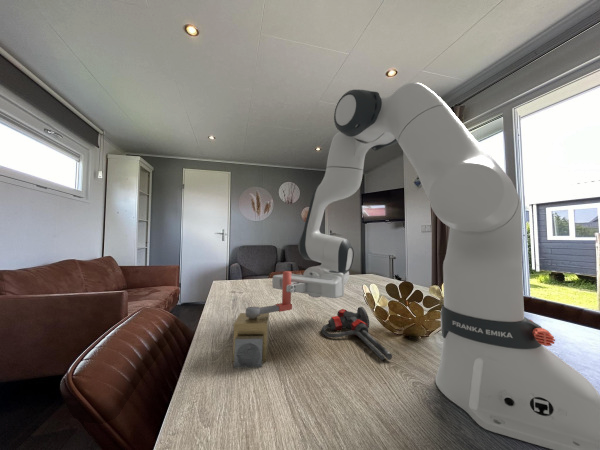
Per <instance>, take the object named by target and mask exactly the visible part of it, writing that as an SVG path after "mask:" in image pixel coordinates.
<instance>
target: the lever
mask: <svg viewBox="0 0 600 450" xmlns="http://www.w3.org/2000/svg"><path fill="white" fill-rule="evenodd" d="M282 274H283V287H282V291H281V293H282V294H281V295H282V296H281V297H282V298H281V302H280V303H276V304H274V305H268V306H262V307H261V306H260V307H259V306H249V307H247V308H245V313H246V317H249V318H255V317H259V316H260V314H265V313H269V314H270V313H275V312H279V313H281V312H285V311H291V310H293V304H292V293H288V292H287V291H286V287H287V285H290V284H291V274H292V271H289V270H286V271H282Z"/></svg>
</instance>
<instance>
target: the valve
mask: <svg viewBox="0 0 600 450" xmlns="http://www.w3.org/2000/svg"><path fill="white" fill-rule="evenodd" d="M356 311H357V312H353V311H349V310H347V309H344V308H342V309H339V310H338V311H337V313H336V315H335V316H331V318H329V319H328V323H327V324H325V325H323V326H322V328H321V333H322V335H324V336H326V337H328V338H334V339H335V338H342V337H347V336H350V335H354V336H356V337H358V338H359V339H360V340H361V341H362V342H363V343H365V344H366V346H367V347H369V349H371V351H372V352H373V353H374V354H375V355H376V356H377V357H378V358H379V359H380V360H381V361H383V360H385V358H386V359H387V360H389V361H390V360H392V358H393V354H392V353H390V351H388V350H387V349H386V348H385V347H384V346H383V345H382V344H381V343H379V341H377V339H376V338H374V337H373V336H372V335H371V334H370V333H369V328H370V318H369V315H368V313H367V311H366V309H365V308H364V307H363V306H360V307H358V308H357V310H356ZM344 328H346V329H349V328H351V330H347V331H342V330H343V329H344ZM326 329H329V330H331V331H335V332H337V330H339V331H342V332H337V333H331V332H327V331H326Z"/></svg>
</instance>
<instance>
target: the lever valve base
mask: <svg viewBox="0 0 600 450" xmlns="http://www.w3.org/2000/svg"><path fill="white" fill-rule="evenodd" d="M269 326H270V313H265V314H260V316H259V317H255V318H249V317H246V312H240V313H239V315H238V317H237V318H236V319H235V321H234V324H233V347H232V348H233V349H232V363H233V368H234V369H235V368H262V367H263V363H265V362H266V363H267V358H268V352H269V351H268V350H269V335H270V334H269V333H270V331H269V329H270V327H269Z"/></svg>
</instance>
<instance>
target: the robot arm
mask: <svg viewBox="0 0 600 450" xmlns="http://www.w3.org/2000/svg"><path fill="white" fill-rule="evenodd" d="M333 119H334V120H333V122H334V126H335V127H336V130H338V132H337V133H335V134H334V136H333V137H332V140H331V142H330V146H329V150H328V154H327V155H328V156H327V161H326V169H325V173H324V176H323V178H322V180H321V182H320V184H317V185H316V186H315V188H314V190H313V193H312V196H311V199H310V202H309V207H308V211H307V215H306V217H305V218H306V219H305V222H304V227H303V230H302V233H301V235H300V238H299V240H298V243H297V244H298V247H297V248H298V251H299V254H300V256H301V257H302V258H303V259H304V260H307V261H312V262H317V263H320V265H316V266H315V265H314V266H309V267H308V268H306V269H305V270H304V272H303V274H296V273H291V284H290V285H287V287H286V291H287V292H288V293H291V294H293V293H299V294H305V295H308V296H309V297H312V298H321V297H322V298H328V299H339V298H342V297H344V295H345V285H346V284H347V283H348V281H349V278H350V270H351V268H352V267H353V266H352V265H353V262H354V254H355V252H354V251H355V250H354V248H353V245H352V243H351V242H350V241H349V239H347V238H344V237H339V236H335V235H330V234H325V233H322V232H321V231H320V228H321V224H322V221H323V217H324V213H325V210H326V208H327V207H328V205H330V204H332V203H334V202H337V201H341V200H345V199H347V198H349V197H351V196H353V195H354V194H355V193H357V191H358V190H359V188H361V184H362V181H363V180H362V179H363V176H364V165H365V157H366V154H367V153H368V151H370V149H372V150H373V151H379V150H381V149H383V148H387V147H390V146H393V145H396V144H397V143H398V145H399V146H400V148H401V151H403V153H404V154H405V155H404V156H405V157H406V158H407V160H408V161H409V163H410V164H411V166H412V167H413V169H414V171H415V173H416V175H417V177H418V180H419V181H420V184H421V187H422V189H423V191H424V193H425V195H426V197H427V200H428V201H429V205H430V207H431V210H432V211H433V213H434V214H435V216H436V217H437V218H438V219H439V220H440V221H441V222H442V224H443V225H444V224H445V226H447V227H449V231H448V238H447V247H446V252H445V253H446V254H445V257H444V260H443V262H442V263H443V264H442V279H443V281H442V282H443V304H442V305H441V310H440V331H441V336H442V347H441V353H440V354H441V355H440V362H439V365H438V370H437V372H436V374H435V379H434V381H435V384H436V386H437V388H438V390H439V391H440V392H441V393H442V394H443V395H444V396H445V397H446V398H447V399H448V400H450V401H451V402H453V403H454V404H455V405H456V406H458V407H459V408H461V409H462V410H463V411H465V412H466V413H467V414H468V415H469V416H470V417H471V418H472V420H473V421H475V422H476V424H477V425H479V426H480V427H481V428H483V429H484V430H487V431H489V432H492V433H495V434H499V435H502V436H506V437H509V438H513V439H516V440H518V441H519V440H520V441H522V442H526V443H529V444H532V445H537V446H539V447H543V448H546V449H549V450H600V393H599V392H598V390H597V389H596V388H595V387H594V385H593V384H592V383H591V382H590V381H589V380H588V379H587V378H586V377H585V376H584V375H583V374H582V373H580V372H579V371H578V370H576V369H575V368H573V367H572V366H571V365H570V364H569V363H567V362H565V361H564V360H563V359H562V358H560V357H559V356H557V355H556V354H555V353H554V352H553V351H551V350H549V349H548V348H547V347H551V346H552V345H553V344H554V345H555V341H556V339H555V337H554V335H552V333H551V332H550V331H549V330H548V329H545V328H543V327H542V326H541V325H539V323H536V322H534V321H533V320H532V319H529V318H527V317H525V305H524V304H525V303H524V288H523V287H524V285H523V241H522V240H523V239H522V237H523V235H522V234H523V232H522V231H523V230H522V203H521V198H520V195H519V193H518V191H517V189H516V187H515V185H514V183H513V181H512V179H511V178H510V177H509V175H508V174H507V173H506V172H505V171H504V170H503V168H501V166H500V165H499V164H498V163H497V162H496V160H495V159H494V158H493V157H492V156H491V155H490V154H489V152H488V151H487V150H486V149H485V148H484V147H483V146H482V145H481V143H480V142H479V141H478V140H477V139H476V138H475V137H474V136H473V134H471V132H470V131H469V130H468V129H467V128H466V125H464V124H463V122H462V121H461V120H460V119H459V118H458V116H456V114H455V113H454V112H453V110H452V109H451V108H450V107H449V105H448V104H447V103H446V102H445V101H444V100H443V99H442V98H441V97H440V95H439V96H438V95H437V93H435V92H434V91H433V90H432V89H430V88H429V87H428V86H426V85H424V84H423V83H420V82H409V83H406V84H403V85H402V86H400V87H398V88H397V89H396V90H395V91H394V92H393V93H391V95H389V96H387V97H383V96H381V95H380V93H379V92H378V91H374V90H373V91H371V90H366V89H350V90H348V91H346V92H345V93H344V94H343V95H342V96H341V97H340V98H339V100H338V102H337V103H336V106H335V110H334V115H333ZM271 284H272V288H273V289H275V290H276V289H277V290H282V287H283V273H282V274H274V275H273V276H272V281H271Z"/></svg>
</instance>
